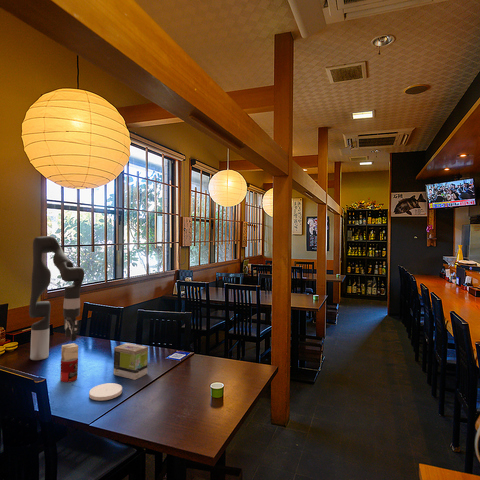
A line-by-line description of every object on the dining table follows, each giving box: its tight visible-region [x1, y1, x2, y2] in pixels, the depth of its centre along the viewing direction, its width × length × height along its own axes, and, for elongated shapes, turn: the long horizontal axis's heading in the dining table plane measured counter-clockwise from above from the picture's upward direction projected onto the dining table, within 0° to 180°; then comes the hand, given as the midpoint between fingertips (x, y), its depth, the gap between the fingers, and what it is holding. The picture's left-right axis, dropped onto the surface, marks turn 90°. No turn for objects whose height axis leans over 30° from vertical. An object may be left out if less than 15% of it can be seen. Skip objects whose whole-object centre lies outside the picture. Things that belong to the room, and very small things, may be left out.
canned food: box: [59, 357, 79, 383], centre depth 164 cm, size 8×8×11 cm
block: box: [60, 342, 79, 360], centre depth 164 cm, size 6×6×6 cm
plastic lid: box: [88, 382, 123, 401], centre depth 149 cm, size 14×14×2 cm
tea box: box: [113, 342, 149, 381], centre depth 173 cm, size 15×10×15 cm, turn 65°
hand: (70, 338), depth 165 cm, fingers open, 8 cm apart
